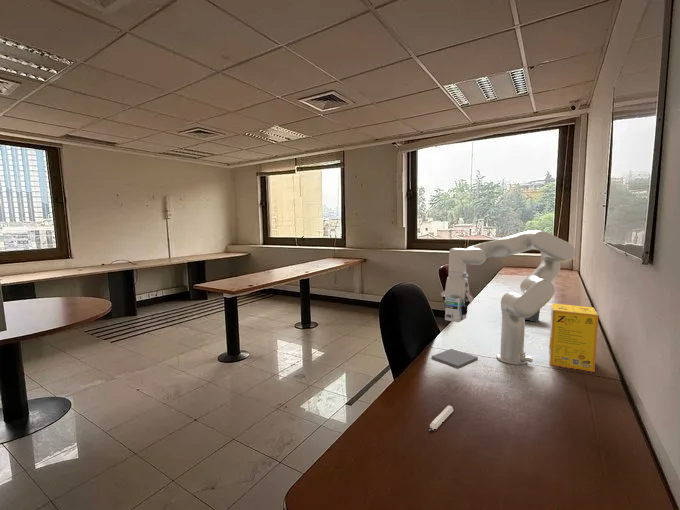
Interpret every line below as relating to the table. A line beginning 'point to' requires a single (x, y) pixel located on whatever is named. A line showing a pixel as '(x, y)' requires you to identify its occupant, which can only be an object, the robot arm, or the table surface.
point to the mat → (454, 358)
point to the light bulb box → (454, 309)
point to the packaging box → (573, 336)
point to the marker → (441, 418)
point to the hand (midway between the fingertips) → (456, 312)
